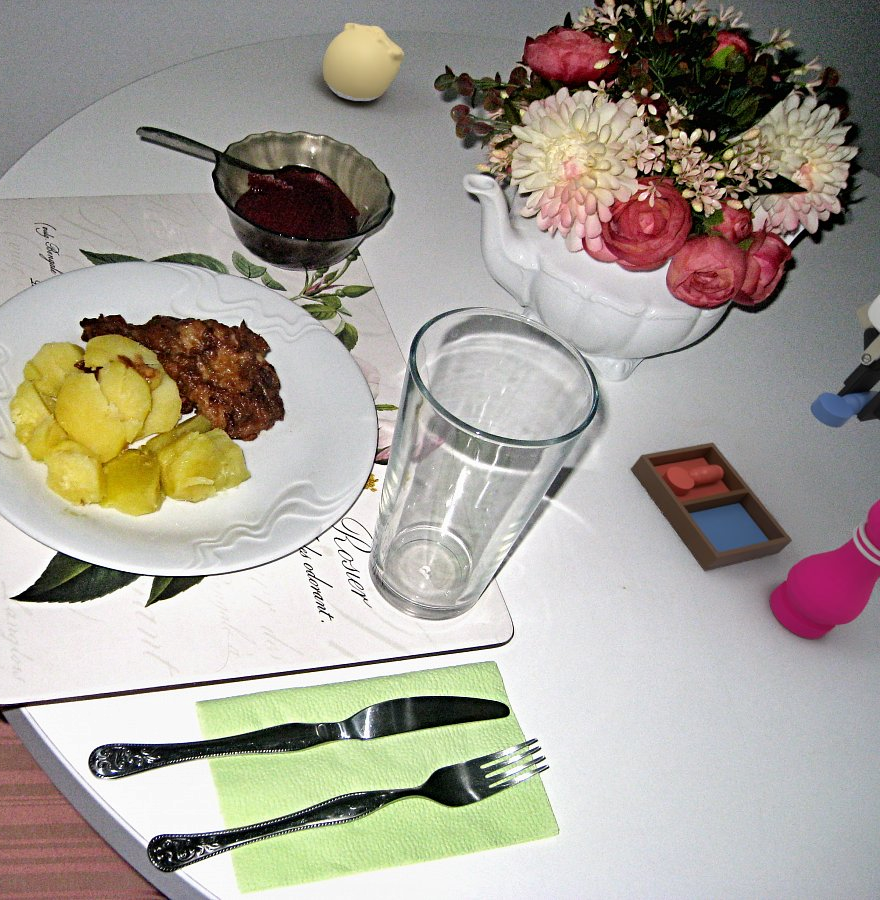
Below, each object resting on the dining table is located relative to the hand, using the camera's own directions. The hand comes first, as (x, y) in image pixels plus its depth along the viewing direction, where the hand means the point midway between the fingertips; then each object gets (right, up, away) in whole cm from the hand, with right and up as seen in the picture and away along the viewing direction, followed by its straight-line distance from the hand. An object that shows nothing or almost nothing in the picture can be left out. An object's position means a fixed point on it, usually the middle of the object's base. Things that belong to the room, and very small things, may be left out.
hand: (859, 406), depth 84 cm
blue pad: (-6, -13, +15) cm, 21 cm away
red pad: (-8, -8, +19) cm, 22 cm away
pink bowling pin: (0, -21, +10) cm, 23 cm away
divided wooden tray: (-7, -11, +17) cm, 21 cm away
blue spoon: (-2, -1, 0) cm, 2 cm away
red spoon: (-8, -8, +18) cm, 21 cm away
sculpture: (-42, +56, +66) cm, 96 cm away
